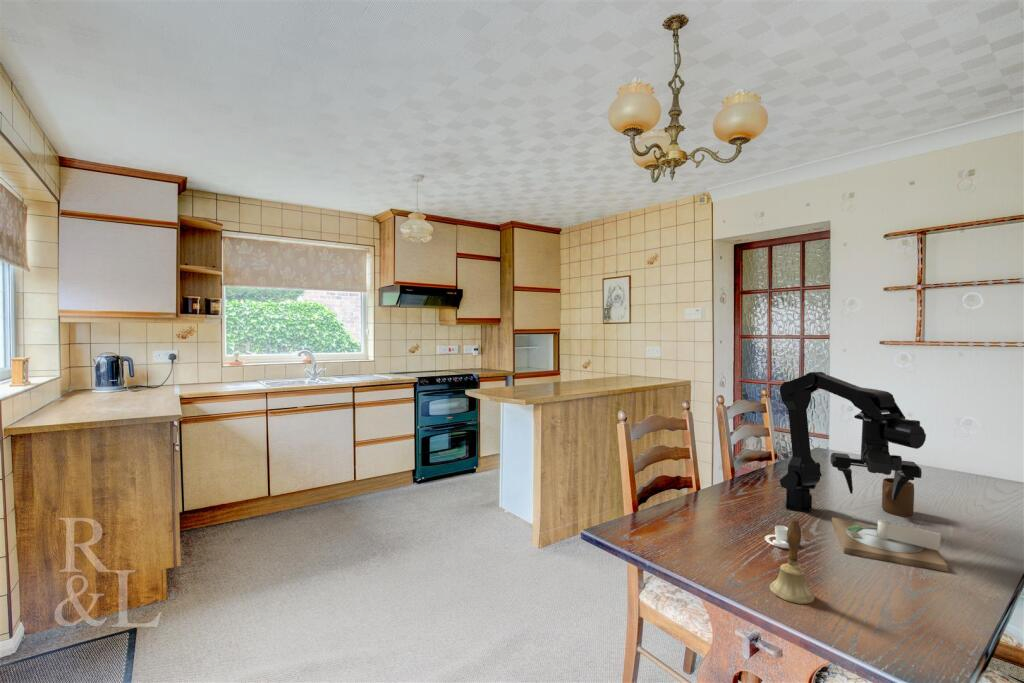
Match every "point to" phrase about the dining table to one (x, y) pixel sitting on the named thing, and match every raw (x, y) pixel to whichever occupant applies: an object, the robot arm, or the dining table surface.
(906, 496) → the mug
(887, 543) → the tuner board
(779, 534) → the teacup and saucer
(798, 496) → the robot arm
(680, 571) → the dining table surface
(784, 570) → the hand bell
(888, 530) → the dial pointer lever
